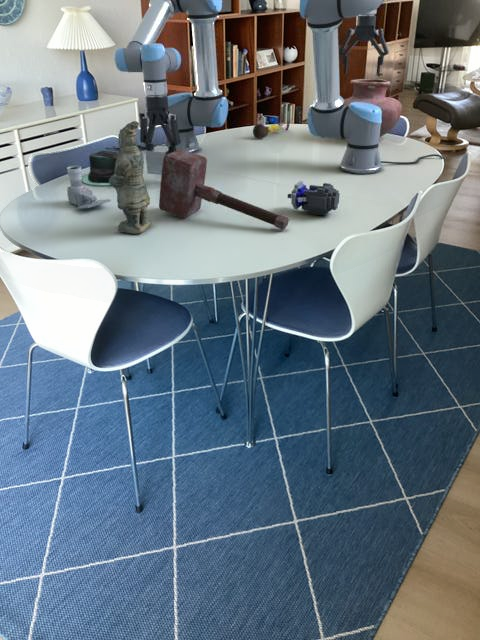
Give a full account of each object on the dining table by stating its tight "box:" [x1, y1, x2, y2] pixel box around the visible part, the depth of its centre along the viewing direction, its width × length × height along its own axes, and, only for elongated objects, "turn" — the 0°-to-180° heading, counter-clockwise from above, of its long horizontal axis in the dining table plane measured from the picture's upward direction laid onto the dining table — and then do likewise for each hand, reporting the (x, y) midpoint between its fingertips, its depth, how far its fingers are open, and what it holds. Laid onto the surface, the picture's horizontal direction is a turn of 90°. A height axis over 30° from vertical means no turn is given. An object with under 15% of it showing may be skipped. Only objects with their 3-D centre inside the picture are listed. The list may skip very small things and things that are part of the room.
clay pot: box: [343, 78, 403, 138], centre depth 248 cm, size 30×30×25 cm
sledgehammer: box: [158, 149, 290, 231], centre depth 163 cm, size 17×10×40 cm
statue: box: [109, 120, 153, 235], centre depth 154 cm, size 11×9×30 cm
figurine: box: [252, 119, 290, 139], centre depth 265 cm, size 13×8×25 cm
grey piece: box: [66, 165, 112, 210], centre depth 178 cm, size 9×12×15 cm
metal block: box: [144, 145, 169, 176], centre depth 196 cm, size 8×8×8 cm
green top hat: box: [82, 150, 119, 186], centre depth 207 cm, size 15×19×20 cm
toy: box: [287, 180, 341, 216], centre depth 168 cm, size 9×9×15 cm
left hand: (162, 164), depth 196 cm, fingers closed on metal block, 8 cm apart
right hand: (361, 73), depth 231 cm, fingers open, 13 cm apart
